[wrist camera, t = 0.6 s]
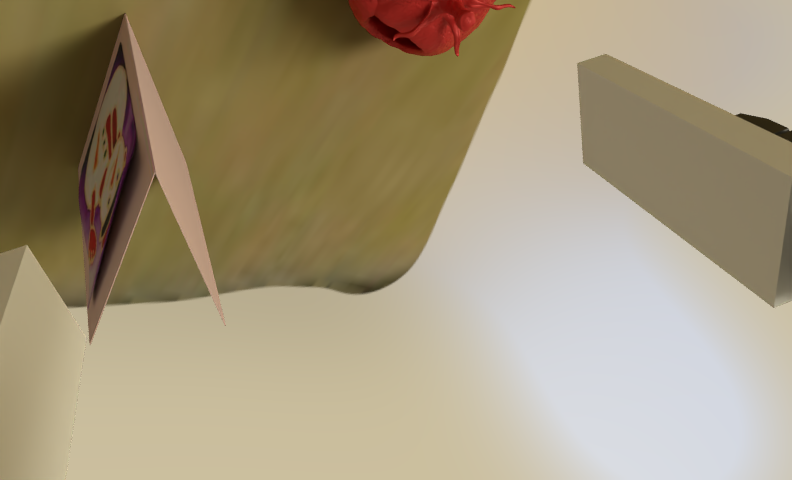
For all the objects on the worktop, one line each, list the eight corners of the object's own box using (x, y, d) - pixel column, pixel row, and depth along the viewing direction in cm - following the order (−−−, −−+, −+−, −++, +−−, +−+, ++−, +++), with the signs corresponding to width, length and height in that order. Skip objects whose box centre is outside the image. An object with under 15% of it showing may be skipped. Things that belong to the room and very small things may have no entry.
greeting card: (108, 8, 38) (134, 168, 28) (233, 47, 42) (292, 197, 32) (63, 165, 43) (71, 344, 34) (177, 186, 48) (213, 349, 38)
